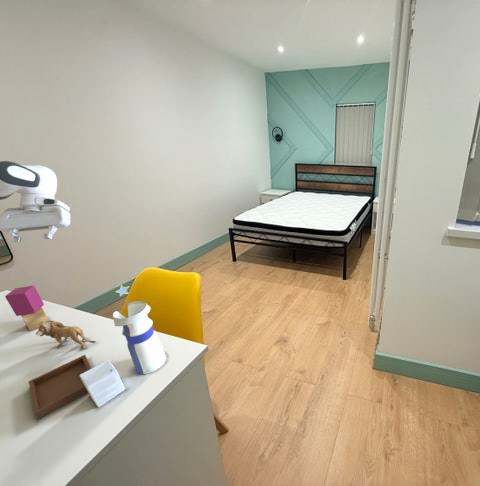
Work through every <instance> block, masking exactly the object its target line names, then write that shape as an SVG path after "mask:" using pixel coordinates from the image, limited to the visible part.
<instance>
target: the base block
mask: <svg viewBox="0 0 480 486" xmlns="http://www.w3.org/2000/svg"><path fill="white" fill-rule="evenodd" d="M20 317H21V318H22V320H23V322H24V323H25V325H26V326H27V328H28V330H29V331H33V330H36V329H38V328H39V327H40V325H39V324H40V323H41V322H44V321H50V320H49V318H48V316H47V314H46V312H45V310H44V308H43V306H42V307H41V308H40V309H39V310H38V311H37V312H36V313H32V314H26V315H20Z"/></svg>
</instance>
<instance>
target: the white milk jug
mask: <svg viewBox="0 0 480 486" xmlns="http://www.w3.org/2000/svg"><path fill="white" fill-rule="evenodd" d="M129 288H130V286H129V285H127V286H124V285H122V284H121V285H120V286H119V289H117V290H115V291H114V293H117V294H119V298H120V297H122V296H124V295H128V294H129V293H130V292H128V289H129ZM151 309H152V308H151V306H150V305H148V303H146V302H145V301H141V300H139V301H137V300H136V301H131V302H128V303H127V315H128V317H127V316H125V315H123V314H121V313H120V312H119V311H118V310H117V311H114V312H113V313H112V320H113V323H114V326H115V327H122V330H121V334H122V335H123V336H124V337H125V340H126V347H127V350H128V352H129V355H130V357H131V361H132V364H133V366H134V370H135V372H136V373H137V374H139V375H146V374H151V373H152V372H156V371H157V370H159V369H160V368H161V367H162V366H163V365H164V364H165V362H166V360H167V355H166V353H165V351H164V349H163V346H162V344H161V341H160V339H159V336H158V334H157V331H155V330H154V327H153V323H154V322H153V320H152V319H151V318H149V316H148V314H149V313H150V312H151Z"/></svg>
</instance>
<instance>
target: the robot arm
mask: <svg viewBox="0 0 480 486" xmlns="http://www.w3.org/2000/svg"><path fill="white" fill-rule="evenodd" d="M57 191H58V177H57V175H56V173H55V172H54V171H53V170H52V169H51V168H48V167H47V166H45V165H44V166H43V165H40V164H31V165H25V164H19V163H17V162H13V161H9V160H1V161H0V201H1V200H7V199H8V198H10V197H11V196H12V195H14V194H15V193H18V194H20V200H19V205H18V207H9V208H7V209H4V210H3V211H2V212H1V214H0V232H2V233H6V234H9V235H10V237H11V242H13V243H21V242H22V237H20V236H18V235H19V234H20V232H21V233H22V232H31V231H40V230H48V231H47V232H45V233H43V239H45V240H52V239H53V237H54V235H55V234H56V232H57V231H58V229H61V228H62V229H63V228H68V227H69V226H70V225H71V213H70V210H71V208H70V206H69V205H67V204H66V203H64V202H62V201H61V200H59V199H56V198H55V196H56V194H57Z"/></svg>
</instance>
